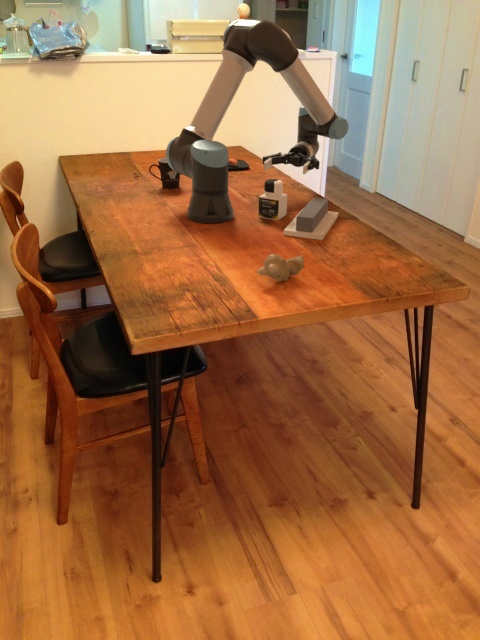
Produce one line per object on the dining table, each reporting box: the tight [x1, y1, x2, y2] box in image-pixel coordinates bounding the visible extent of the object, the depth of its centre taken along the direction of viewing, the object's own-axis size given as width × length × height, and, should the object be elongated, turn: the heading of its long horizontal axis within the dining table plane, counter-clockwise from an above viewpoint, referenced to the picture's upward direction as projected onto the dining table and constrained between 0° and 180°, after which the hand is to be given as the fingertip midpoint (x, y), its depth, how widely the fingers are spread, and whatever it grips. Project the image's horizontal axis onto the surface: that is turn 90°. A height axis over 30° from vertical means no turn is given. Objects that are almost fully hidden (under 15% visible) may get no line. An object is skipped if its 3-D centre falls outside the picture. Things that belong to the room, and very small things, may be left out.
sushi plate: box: [228, 158, 250, 171], centre depth 260 cm, size 29×30×4 cm
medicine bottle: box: [258, 178, 288, 222], centre depth 194 cm, size 7×7×12 cm
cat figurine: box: [256, 253, 305, 283], centre depth 149 cm, size 8×7×12 cm
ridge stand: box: [283, 196, 339, 241], centre depth 187 cm, size 24×12×6 cm, turn 160°
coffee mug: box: [148, 157, 181, 190], centre depth 225 cm, size 12×9×10 cm
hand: (284, 168), depth 199 cm, fingers open, 13 cm apart
